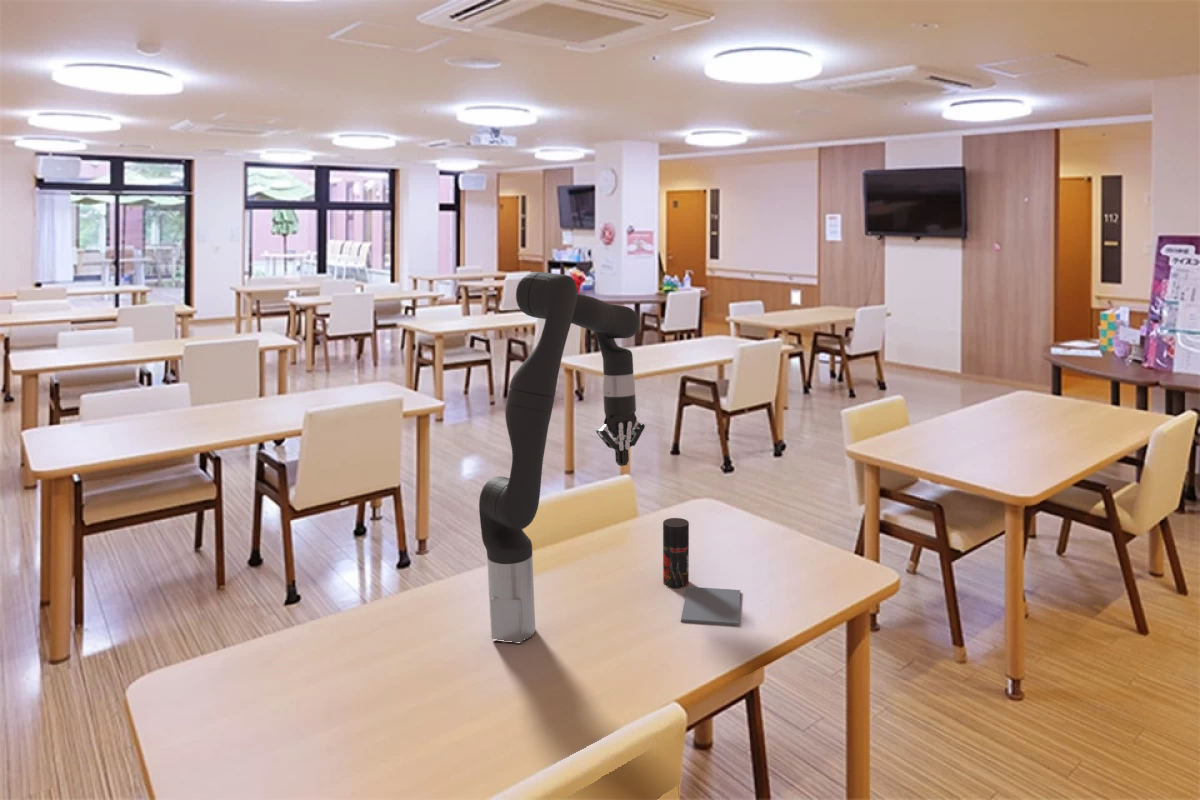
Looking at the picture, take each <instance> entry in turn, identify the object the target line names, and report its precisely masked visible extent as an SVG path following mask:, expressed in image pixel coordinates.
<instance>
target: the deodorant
mask: <svg viewBox="0 0 1200 800" xmlns="http://www.w3.org/2000/svg"><path fill="white" fill-rule="evenodd" d="M689 541H690V522H689V520H688V519H685V518H682V517H670V518H666V519H664V520H663V522H662V571H663V572H662V584H663V585H664V586H665V585H666V586H665V587H667V586H668V588H670V587H671V589H681V588H685V587H688V586H689V579H690V578H689V576H690V575H689V574H690V573H689V572H690V569H689V567H690V566H689V565H690V563H689V562H690V561H689V559H690V558H689V557H690V555H689V554H690V551H689V549H690V546H689V545H690V542H689Z"/></svg>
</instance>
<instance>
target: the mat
mask: <svg viewBox="0 0 1200 800" xmlns="http://www.w3.org/2000/svg"><path fill="white" fill-rule="evenodd" d="M686 587H687V589H686V593H685V598H684V602H683V607H682V608H683V609H682V613H681V618H680V622H681V623H694V624H709V625H710V624H711V625H721V626H722V625H723V626H733V627H734V626H735V627H737V626H739V621H740V620H739V618H740V605H741V603H740V601H741V589H733V588H732V589H731V588H716V587H714V588H713V587H699V586H686Z"/></svg>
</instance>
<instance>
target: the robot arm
mask: <svg viewBox="0 0 1200 800" xmlns="http://www.w3.org/2000/svg"><path fill="white" fill-rule="evenodd" d="M515 291H516V292H515V300H516V303H517V306H518V308H519V309H520V311H521V312H522V313H523V314H525V315H527V316H529V317H532V318H537V319H543V320H544V325H543V328H542V332H541V335H540V338H539V341H538V342H537V344H536V346H535V348H534V349H533V350H532V351H531V353H530V354H529V355H528V356H527V357H526V358H525V360H524V362H522V364H521V365H520V366H519V367H518V369H517V370H516V372H514V374H513V375H512V378H511V380H510V384H509V387H508V388H509V389H508V394H507V398H506V404H505V411H504V412H505V423H506V429H507V432H508V437H509V441H510V446H511V455H512V458H511V459H512V460H511V467H510V475H509V477H506V476H502V475H500V476H494V477H492V478H491V479H489V480H487V482H486V483H485V484H484V486H483V487H482V488H481V491H480V495H479V503H478V512H479V523H480V530H481V539H482V540H481V541H482V543H483V546H484V548H485V549H486V558H487V559H486V560H487V577H488V578H487V580H488V597H489V615H490V617H489V619H490V620H489V621H490V634H491V633H492V635H491V637H492V640H493V639H497V640H504V641H512V642H520V643H521V642H522V641H523V640H524V639H527V638H529V637H530V636H532V635H533V634H534V632H535V633H536V609H535V587H534V585H535V584H534V560H533V559H534V558H533V556H534V555H533V543H532V540H531V539H530V538H529V536H528V535H527V534H526V533H525V532H524V531H523V530H524V529H526V528H527V527H528V526H530V525H531V523H532V522H533V520H534V519H535V517H536V515H537V512H538V507H539V503H540V497H541V487H542V486H541V485H542V475H543V474H542V473H543V464H544V455H545V449H546V443H547V438H548V433H549V431H548V430H549V426H550V421H551V417H552V413H553V409H554V402H555V396H556V391H557V385H558V379H559V373H560V368H561V362H562V360H563V359H562V358H563V356H564V355H563V354H564V350H565V346H566V343H567V339H568V335H569V332H570V329H571V325H572V324H573V325H575V326H578V327H580V328H583V329H585V330H588V331H592V332H594V334H595V337H596V339H597V342H598V346H599V349H600V353H601V356H602V368H603V380H602V386H603V387H602V389H603V390H602V391H603V392H602V393H603V394H602V395H603V411H604V415H605V417H604V420H603V425H602V426H601V428H597V429H596V430H595V431H596V434H597V435H598V437H599V438H600V439H601V440H602V442H603V443H604V444H605V445H606V446H607V447H608V448H609V449H613V450H614V451H615V452H614V453H615V456H614V457H615V463H616V464H617V466H620V467H623V466H627V465H628V463H629V460H630V459H629V458H630V457H629V450H630V448H631V447H635V446H636V444H637V442H638V441H639V439H640V437H641V436H642V433H643V431H644V430H645V428H646V425H645V424H644V423H641V422H640V421H638V418H637V416H636V411H637V402H636V383H635V382H636V381H635V377H634V360H633V359H634V358H633V357H634V356H633V351H632V350H630V349H628V348H625V347H621V346H619V345H618V344H617V343H616V340H615V339H629V338H632V337H634V336H636V334H637V333H638V331H639V328H640V318H639V316H638V314H637V312H635V310H634V309H632V308H630V307H629V306H625V305H619V304H612V303H608V302H605V301H603V300H600V299H598V298H596V297H593V296H590V295H586V294H582V293H578V288H577V284H576V281H575V279H574V278H573V277H572V276H570V275H566V274H562V273H552V272H551V273H550V272H545V271H531V272H529V273H526V274H524V275H523V276H522V277H521V278H520V280H519V281H518V284H517V287H516V290H515ZM609 434H610V435H609ZM534 635H535V634H534ZM534 635H533V636H534ZM533 636H532V637H533ZM529 639H530V638H529ZM527 640H528V639H527ZM523 642H524V641H523ZM523 642H522V643H523ZM522 643H521V644H522Z"/></svg>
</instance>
